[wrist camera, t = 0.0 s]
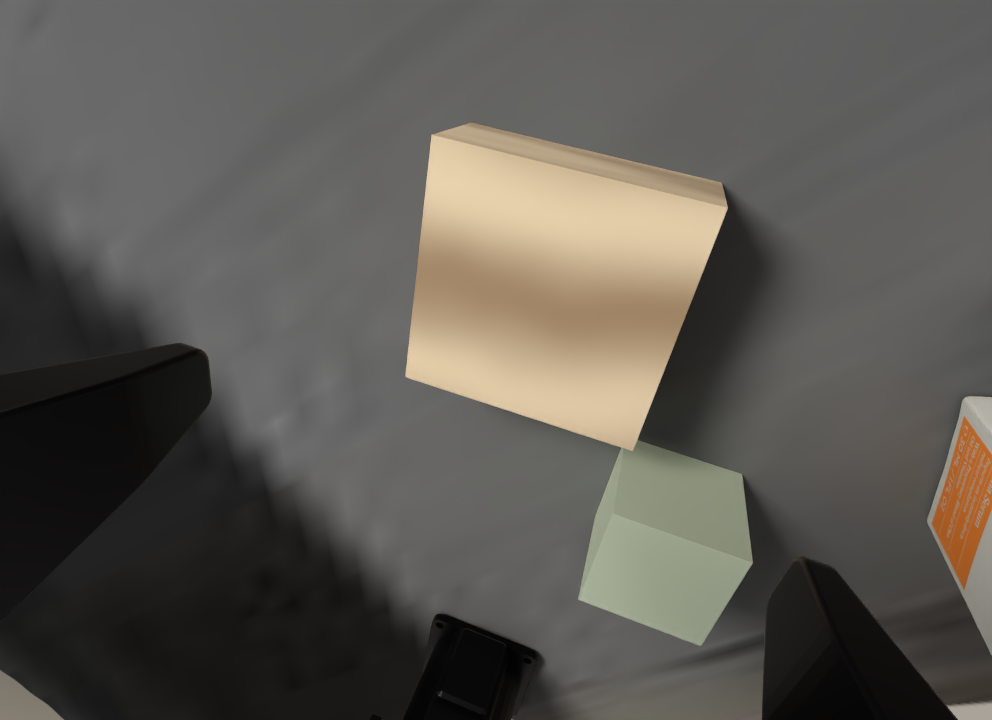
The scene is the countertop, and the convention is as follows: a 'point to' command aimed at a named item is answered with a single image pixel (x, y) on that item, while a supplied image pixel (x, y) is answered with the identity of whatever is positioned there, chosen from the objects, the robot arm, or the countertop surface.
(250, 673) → the countertop surface
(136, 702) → the countertop surface
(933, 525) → the skincare box
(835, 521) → the countertop surface
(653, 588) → the sage cube
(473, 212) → the maple block
